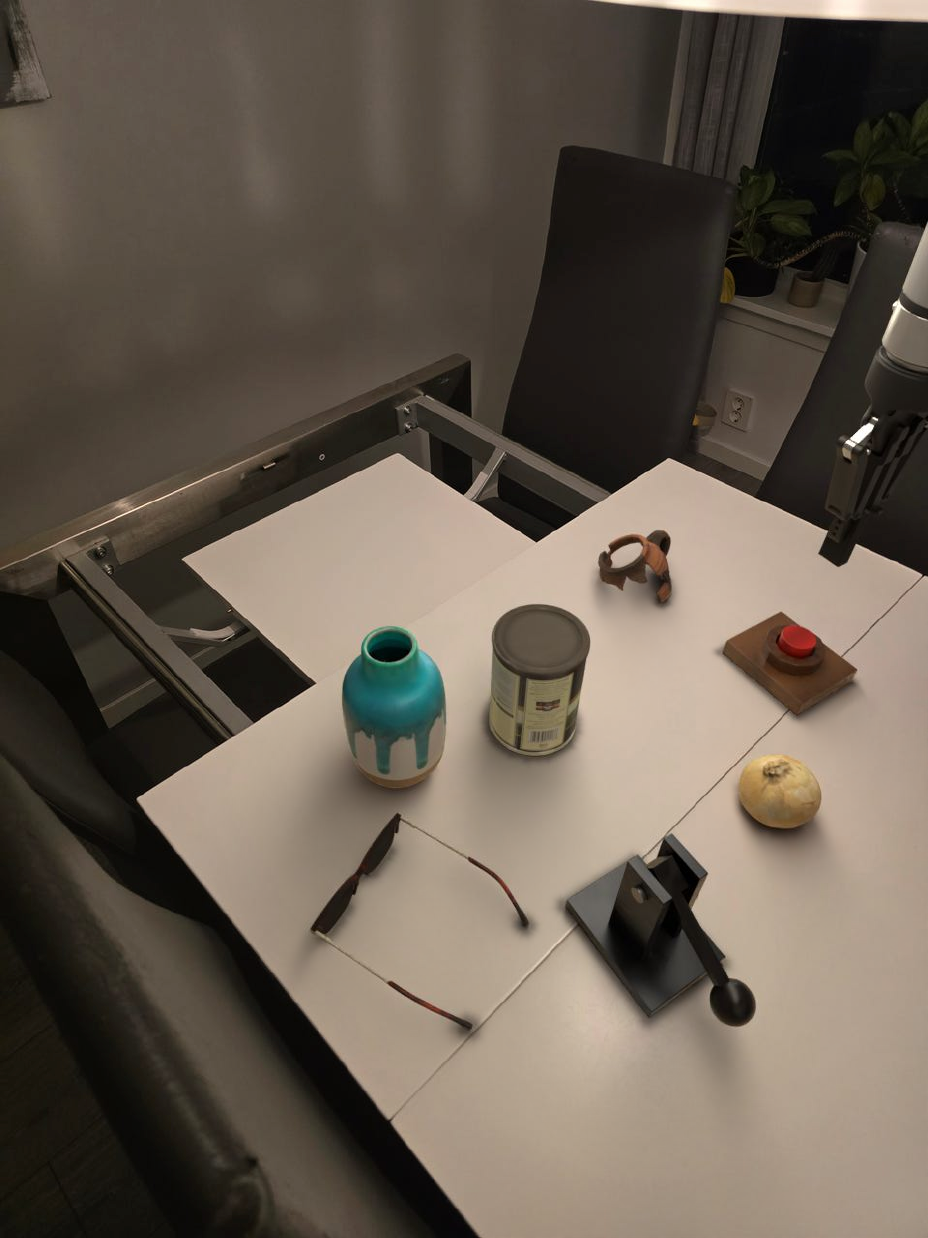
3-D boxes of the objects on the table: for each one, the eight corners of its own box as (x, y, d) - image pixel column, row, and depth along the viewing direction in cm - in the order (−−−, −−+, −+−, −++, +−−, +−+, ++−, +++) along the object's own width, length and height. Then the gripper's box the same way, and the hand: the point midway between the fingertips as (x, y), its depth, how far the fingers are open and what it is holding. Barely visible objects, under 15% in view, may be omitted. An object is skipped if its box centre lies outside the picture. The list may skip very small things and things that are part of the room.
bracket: (722, 962, 72) (761, 898, 63) (649, 1018, 68) (678, 958, 59) (635, 860, 79) (658, 789, 70) (565, 906, 76) (579, 837, 67)
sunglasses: (397, 834, 81) (397, 809, 77) (534, 916, 76) (541, 894, 72) (313, 949, 72) (308, 927, 69) (461, 1050, 67) (465, 1032, 64)
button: (818, 650, 95) (823, 640, 94) (796, 663, 93) (800, 653, 92) (792, 630, 97) (797, 620, 96) (770, 643, 96) (774, 633, 95)
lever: (746, 1008, 66) (773, 1013, 63) (715, 1033, 65) (741, 1039, 61) (660, 853, 69) (681, 850, 65) (629, 873, 67) (649, 872, 64)
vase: (342, 738, 90) (322, 619, 76) (431, 715, 92) (427, 596, 78) (363, 815, 82) (345, 700, 69) (459, 789, 85) (460, 672, 71)
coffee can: (538, 674, 97) (548, 590, 87) (594, 729, 91) (611, 646, 81) (470, 711, 92) (472, 627, 83) (524, 772, 86) (532, 689, 77)
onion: (775, 765, 87) (794, 726, 82) (827, 822, 82) (851, 784, 77) (718, 791, 85) (734, 752, 80) (767, 851, 80) (788, 814, 75)
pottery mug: (659, 621, 104) (635, 578, 100) (602, 613, 111) (578, 572, 107) (699, 557, 109) (678, 513, 104) (642, 553, 116) (620, 512, 111)
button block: (851, 681, 96) (863, 659, 93) (796, 715, 92) (807, 693, 90) (776, 622, 103) (785, 600, 101) (722, 652, 100) (729, 630, 97)
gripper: (931, 321, 74) (843, 520, 90) (840, 355, 69) (765, 559, 85) (1006, 353, 69) (899, 556, 86) (915, 392, 64) (820, 600, 81)
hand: (832, 558), depth 86 cm, fingers closed
